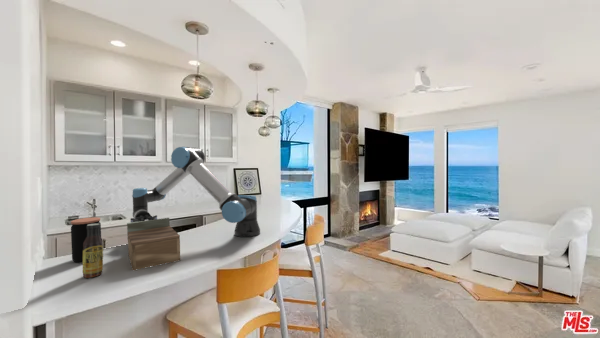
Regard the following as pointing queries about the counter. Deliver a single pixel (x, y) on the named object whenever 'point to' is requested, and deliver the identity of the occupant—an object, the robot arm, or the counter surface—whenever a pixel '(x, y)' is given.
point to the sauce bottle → (92, 252)
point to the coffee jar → (81, 236)
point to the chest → (154, 253)
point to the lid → (150, 231)
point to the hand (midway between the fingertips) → (148, 224)
